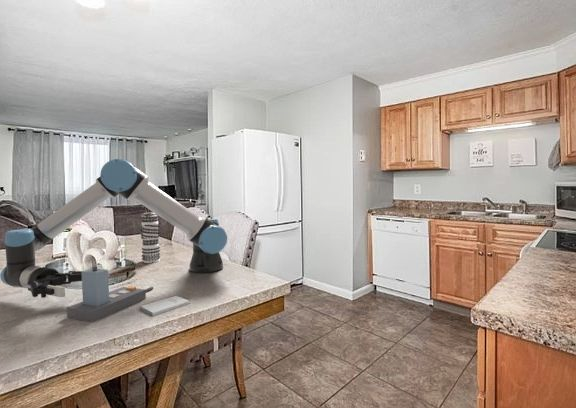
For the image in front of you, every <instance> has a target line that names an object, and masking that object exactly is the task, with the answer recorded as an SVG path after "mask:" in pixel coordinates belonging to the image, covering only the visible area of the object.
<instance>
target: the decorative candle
mask: <svg viewBox="0 0 576 408" xmlns="http://www.w3.org/2000/svg"><path fill="white" fill-rule="evenodd" d="M158 216H159V215H157V214H156V213H154V212H153V211H150V212H144V213H142V214H141V226H140V227H139V228H140V239H141V240H142V244H141V246H142V248H141V253H142V254H141V259H142V260H141V261H142V263H143V262H144V264H152V262H153V263H157V261H158V262H160V261H161V259H160V258H161V256H160V255H161V253H160V251H161V250H160V248H161V247H160V244H159V243H160V241H159V239H160V236H159V235H160V234H161V233H160V229H159V228H161V225H160V222H159V217H158Z"/></svg>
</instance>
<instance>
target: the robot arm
mask: <svg viewBox="0 0 576 408" xmlns="http://www.w3.org/2000/svg"><path fill="white" fill-rule="evenodd" d="M100 169H101V170H100V174H99V177H97V178H95V183H93V184H92V185H90V186H89V187H88V188H87V189H85V190H83V191H82V192H81V193H80V194H78V195H77V196H75V197H74V198H72V199H71V200H70V201H68V202H66V203H65V204H64V205H62V206H61V207H60V208H58V209H57V210H56V211H54V212H53V213H52V214H50V215H48V216H47V217H46V218H44V219H43V220H42V221H40V222H39V223H38V224H36V225H34V226H33V227H31V228H23V229H20V228H19V229H11V230H7V231H6V232H5V234H4V244H5V259H6V260H5V261H6V265H5V267H3V268H2V271H1V272H0V280H1V282H2V283H4V284H5V285H8V286H11V287H14V288H23V289H27V291H30V292H31V295H32V298H37V297H39V295H40V298H41V299H45V298H47V296H52V297H57V298H65V297H66V288H65V287H64V286H62V285H70V284H71V283H75V282H82V271H83V270H78V271H77V270H76V271H75V270H69V271H68V272H64V273H63V272H59V271H58V270H57V269H55V268H53V267H46V266H42V265H40V266H39V265H36V252H37V251H38V250H41V249H42V248H44V247H45V246H47V244H48V243H50V242H51V241H53V239H55V238H56V237H58V236H59V235H60V234H62V233H63V232H65V231H66V230H67V229H69V228H70V227H71V226H73V225H74V224H76V222H78V221H80V220H81V219H82V218H83V217H85V216H86V215H88V214H90V213H91V212H92V211H93V210H95V209H96V208H97V207H99V206H100V205H102V204H103V203H104V202H106V201H107V200H108V199H109V198H115V197H117V196H118V195H119V196H121V197H123V198H124V199H126V200H128V201H130V200H131V201H133V200H134V201H135V202H138V203H139V204H140V205H142V206H143V207H145V208H147V210H150V212H154V213H156V214H157V215H158V216H159V217H160V218H162V219H163V220H164V221H166V222H168V223H169V224H170V225H172V226H174V227H175V228H176V229H178V230H180V231H181V232H183V233H184V234H186V238H187V240H188V241H190V243H192V255H191V259H190V261H189V265H188V266H189V271H190V272H192V273H197V272H198V273H203V274H205V272H207V273H214V272H217V270H218V271H221V270H223V269H224V262H223V259H222V256H221V254H220V252H222V250H224V248H225V247H226V245H227V243H228V235H227V232H226V230H225V228H223V227H221V226H220V223H219V220H218V219H217V218H216V219H215V218H211V219H210V218H208V217H206V216H199V215H197V214H195V213H194V212H193V211H192V210H190V209H189V208H187V207H186V206H184V205H183V204H181V203H180V202H178V201H177V200H176V199H175V198H173V197H171V196H170V195H169V194H167V193H166V192H164V191H163V190H161V189H160V188H159V187H157V186H155V185H154V184H153V183H152V182H150V181H149V177H148V175H147V174H146V173H144V172H143V171H141V170H140V169H139V168H137V167H136V166H134V164H133V163H131V162H130V161H128V160H126V159H123V158H114V159H110V160H108V161H107V162H106V163H104V164H103V166H102V167H101V168H100ZM220 269H221V270H220ZM213 271H214V272H213Z"/></svg>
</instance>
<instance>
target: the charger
mask: <svg viewBox="0 0 576 408" xmlns="http://www.w3.org/2000/svg"><path fill="white" fill-rule="evenodd" d="M81 271H82V281H81V288H82V289H81V291H82V302H83V305H87V306H93V307H99V306H101V305H104V304H106V303H109V292H110V289H109V288H110V287H109V285H110V284H109V270H108V269H104V268H98V266H96V265H95V266H92V267H91V268H89V269H87V270H86V269H85V270H81Z"/></svg>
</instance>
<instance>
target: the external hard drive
mask: <svg viewBox="0 0 576 408" xmlns="http://www.w3.org/2000/svg"><path fill="white" fill-rule="evenodd" d="M189 304H190V301H189V300H188V299H186V298H183V297H180V296H178V295H174V296H170V297H168V298H167V297H166V298H163V299H160V300H157V301H154V302H150V303H147V304H144V305H140V306H139V310H141V311H142V312H145V313H146V314H148V315H150V316H153V317H154V316H157V315H160V314H163V313H166V312H168V311H171V310H175V309H178V308H181V307H183V306H186V305H189Z"/></svg>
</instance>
